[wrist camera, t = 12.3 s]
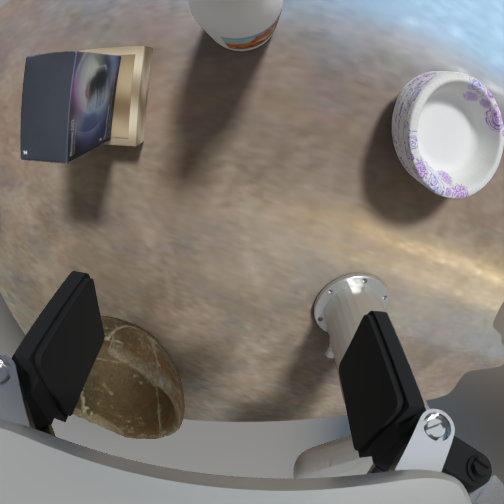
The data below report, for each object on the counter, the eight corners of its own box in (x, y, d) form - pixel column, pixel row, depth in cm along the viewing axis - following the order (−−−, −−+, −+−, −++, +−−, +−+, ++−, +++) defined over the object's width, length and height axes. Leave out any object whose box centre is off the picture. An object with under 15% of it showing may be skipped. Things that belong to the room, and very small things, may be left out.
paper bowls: (483, 102, 31) (519, 112, 24) (449, 193, 38) (479, 216, 31) (400, 50, 29) (432, 46, 22) (364, 155, 36) (388, 174, 30)
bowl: (50, 265, 46) (5, 323, 33) (198, 293, 48) (181, 369, 35) (79, 365, 60) (56, 417, 47) (192, 390, 62) (183, 451, 49)
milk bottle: (205, 50, 30) (150, 19, 13) (211, -7, 26) (169, -82, 9) (272, 54, 30) (292, 23, 13) (278, -3, 26) (302, -80, 9)
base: (144, 141, 36) (135, 146, 33) (65, 138, 35) (53, 144, 32) (153, 48, 29) (144, 45, 27) (70, 54, 29) (57, 53, 26)
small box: (113, 141, 32) (68, 167, 23) (69, 138, 32) (18, 162, 23) (124, 54, 27) (77, 50, 18) (77, 55, 26) (23, 56, 18)
